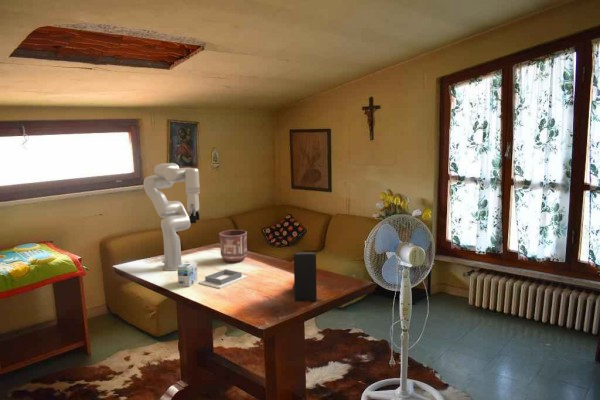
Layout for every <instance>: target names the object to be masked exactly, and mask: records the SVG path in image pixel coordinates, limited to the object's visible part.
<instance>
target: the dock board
mask: <svg viewBox="0 0 600 400" xmlns="http://www.w3.org/2000/svg"><path fill="white" fill-rule="evenodd" d="M204 277H205V278H204V279H203V280H200V281H198V285H199V284H200V285H203V286H208V287H212V288H216V289H223V288H225V287H228V286H231V285H233V284H236V283H238V282H241V281H242V280H243V281H244V280H245V279H249V276H248V275H245V274H243V273H242V272H241V271H236V270H231V269H223V270H220V271H217V272H214V273H212V274H208V275H206V276H204Z"/></svg>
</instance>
